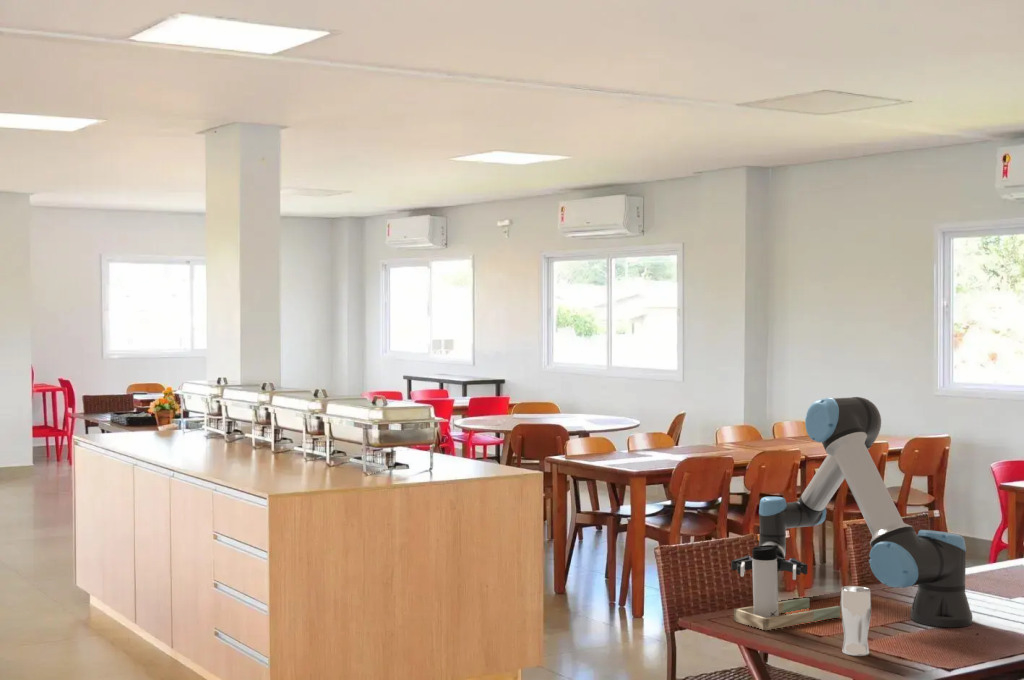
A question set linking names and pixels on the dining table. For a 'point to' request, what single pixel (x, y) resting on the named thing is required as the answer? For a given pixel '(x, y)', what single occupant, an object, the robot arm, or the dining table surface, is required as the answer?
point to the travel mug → (765, 581)
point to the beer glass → (855, 619)
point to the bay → (763, 623)
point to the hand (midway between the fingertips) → (767, 573)
